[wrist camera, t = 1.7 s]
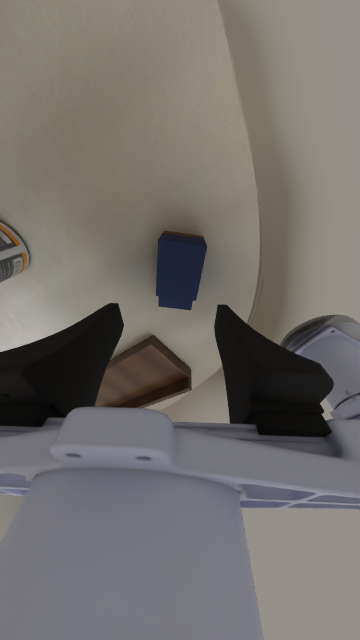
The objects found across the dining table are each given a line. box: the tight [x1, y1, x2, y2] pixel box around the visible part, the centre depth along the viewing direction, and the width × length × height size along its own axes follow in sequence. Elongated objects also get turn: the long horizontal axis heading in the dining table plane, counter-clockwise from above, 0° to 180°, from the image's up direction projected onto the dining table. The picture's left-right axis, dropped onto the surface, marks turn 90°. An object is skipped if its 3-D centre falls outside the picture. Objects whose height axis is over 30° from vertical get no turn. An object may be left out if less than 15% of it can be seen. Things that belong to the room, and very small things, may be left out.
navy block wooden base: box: [156, 231, 207, 310], centre depth 17 cm, size 8×4×4 cm, turn 173°
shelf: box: [95, 336, 192, 408], centre depth 33 cm, size 36×10×4 cm, turn 127°
